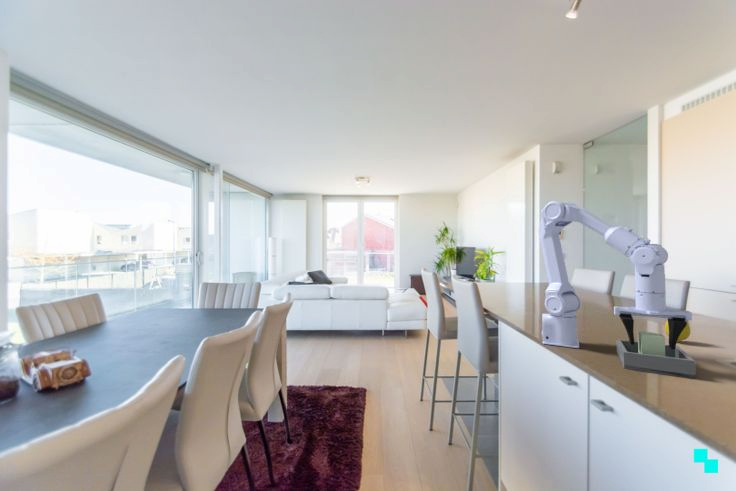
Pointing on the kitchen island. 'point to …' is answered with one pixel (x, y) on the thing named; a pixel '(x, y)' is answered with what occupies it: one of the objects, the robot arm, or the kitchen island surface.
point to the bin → (656, 360)
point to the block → (651, 343)
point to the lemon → (684, 333)
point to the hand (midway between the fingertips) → (651, 345)
